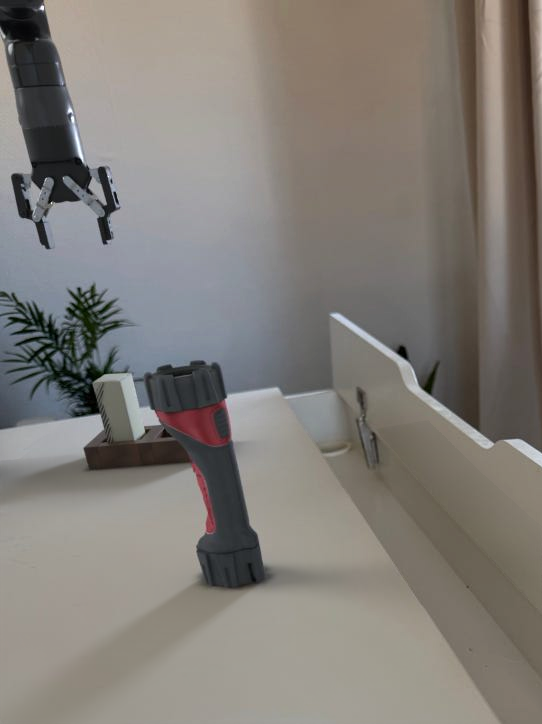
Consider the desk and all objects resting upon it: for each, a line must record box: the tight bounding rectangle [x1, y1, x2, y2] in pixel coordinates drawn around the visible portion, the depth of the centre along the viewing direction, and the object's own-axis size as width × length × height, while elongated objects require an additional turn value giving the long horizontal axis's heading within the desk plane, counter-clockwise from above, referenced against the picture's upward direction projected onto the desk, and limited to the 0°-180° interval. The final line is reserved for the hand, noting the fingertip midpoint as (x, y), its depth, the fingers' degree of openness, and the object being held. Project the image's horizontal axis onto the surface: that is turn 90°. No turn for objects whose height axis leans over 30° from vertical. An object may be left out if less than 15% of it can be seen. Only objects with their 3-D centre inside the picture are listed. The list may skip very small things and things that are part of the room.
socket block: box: [82, 424, 193, 471], centre depth 149 cm, size 18×10×4 cm, turn 92°
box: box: [92, 372, 146, 442], centre depth 147 cm, size 5×4×13 cm
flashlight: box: [142, 359, 267, 589], centre depth 101 cm, size 8×8×23 cm
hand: (78, 246), depth 146 cm, fingers open, 8 cm apart
